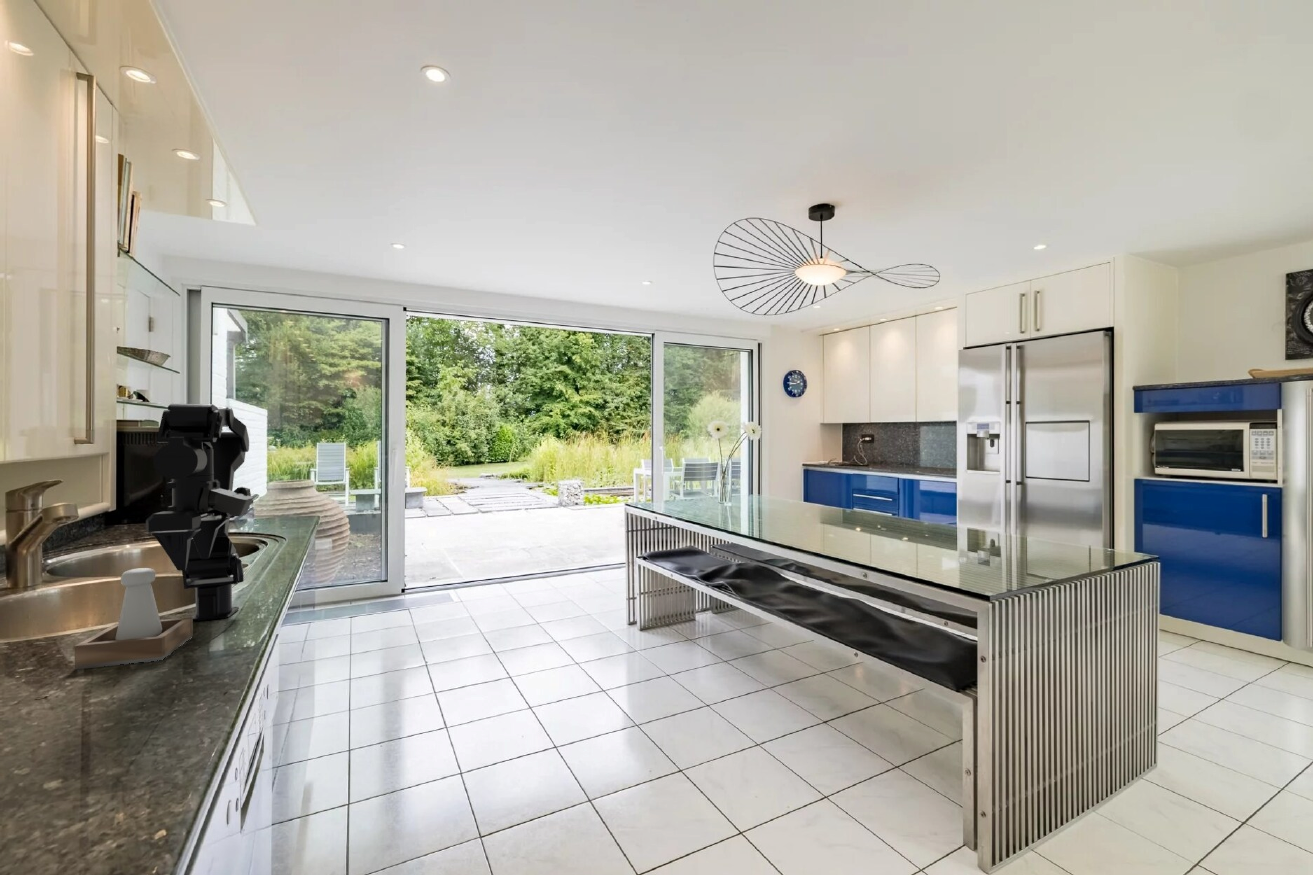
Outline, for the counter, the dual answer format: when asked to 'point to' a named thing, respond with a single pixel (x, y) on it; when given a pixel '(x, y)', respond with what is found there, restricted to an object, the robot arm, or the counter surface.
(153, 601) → the salt shaker
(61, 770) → the counter surface
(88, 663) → the shaker dock
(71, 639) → the counter surface
